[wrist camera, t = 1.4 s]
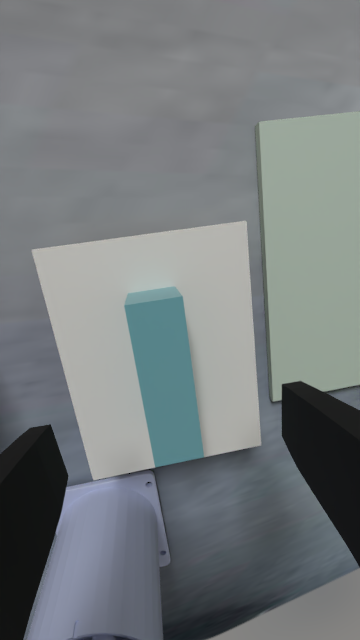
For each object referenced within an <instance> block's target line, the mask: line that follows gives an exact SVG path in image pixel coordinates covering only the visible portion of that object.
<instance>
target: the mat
mask: <svg viewBox="0 0 360 640" xmlns="http://www.w3.org/2000/svg"><path fill="white" fill-rule="evenodd" d="M255 135H256V153H257V172H258V191H259V209H260V228H261V247H262V265H263V284H264V303H265V321H266V340H267V359H268V377H269V396H270V398H271V400H272V401H273V402H274V401H279V400H282V384H285V383H291V382H297V381H302V382H304V383H306V384H308V385H310V386H312V387H314V388H316V389H318V390H320V391H322V392H325V391H330V390H335V389H340V388H345V387H350V386H355V385H360V111H358V112H349V113H339V114H329V115H320V116H310V117H300V118H291V119H281V120H271V121H262V122H258V123H257V125H256V126H255Z"/></svg>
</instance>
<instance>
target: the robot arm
mask: <svg viewBox="0 0 360 640" xmlns="http://www.w3.org/2000/svg"><path fill="white" fill-rule="evenodd" d="M282 437H283V439H284V441H285V443H286V445H287V448H288V450H289V452H290V454H291V456H292V458H293V460H294V462H295V464H296V466H297V468H298V469H299V471H300V473H301V474H302V476H303V477H304V479H305V480H306V482H307V484H308V485H309V487H310V488H311V490H312V492H313V493H314V495H315V496H316V498H317V499H318V501H319V503H320V504H321V506H322V507H323V509H324V510H325V512H326V513H327V515H328V517H329V518H330V520H331V521H332V523H333V524H334V526H335V527H336V529H337V531H338V532H339V534H340V535H341V537H342V538H343V540H344V542H345V543H346V545H347V546H348V548H349V550H350V551H351V553H352V555H353V556H354V558H355V560H356V561H357V563H358V565H359V567H360V410H358V409H356V408H354V407H352V406H350V405H348V404H346V403H344V402H342V401H340V400H338V399H336V398H334V397H332V396H330V395H328V394H326V393H324V392H322V391H320V390H318V389H316V388H314V387H312V386H310V385H308V384H306V383H304V382H302V381H297V382H291V383H285V384H282ZM67 480H68V473H67V470H66V468H65V465H64V462H63V459H62V456H61V453H60V450H59V447H58V444H57V442H56V439H55V436H54V433H53V430H52V427H51V424H50V425H45V426H39V427H33V428H30V429H28V430H27V431H26V432H25V433H23V434H22V435H21V436H20V437H19V438H18V439H17V440H15V441H14V442H13V443H12V444H11V445H10V446H9V447H8V448H7V449H6V450H4V451H3V452H2V453H1V454H0V640H23V638H24V634H25V631H26V627H27V624H28V620H29V616H30V613H31V610H32V606H33V603H34V600H35V597H36V594H37V590H38V587H39V584H40V581H41V578H42V574H43V571H44V568H45V565H46V562H47V558H48V555H49V552H50V549H51V546H52V542H53V539H54V536H55V532H56V535H57V539H56V542H55V546H54V549H53V552H52V556H51V559H50V563H49V566H48V569H47V573H46V576H45V580H44V583H43V586H42V590H41V593H40V597H39V600H38V603H37V607H36V610H35V614H34V617H33V620H32V624H31V627H30V631H29V634H28V637H27V640H163V625H162V606H161V587H160V568H159V567H163V566H166V565H168V564H169V563H170V561H171V559H170V552H169V547H168V542H167V537H166V532H165V527H164V521H163V516H162V511H161V506H160V501H159V496H158V490H157V485H156V480H155V475H154V472H152V471H150V470H146V471H142V472H137V473H132V474H127V475H122V476H118V477H113V478H108V479H103V480H99V481H94V482H89V483H84V484H79V485H75V486H70V487H66V486H67ZM147 482H151V483H147Z"/></svg>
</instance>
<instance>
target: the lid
mask: <svg viewBox="0 0 360 640" xmlns="http://www.w3.org/2000/svg"><path fill="white" fill-rule="evenodd" d="M32 253H33V257H34V261H35V264H36V268H37V272H38V276H39V279H40V283H41V287H42V291H43V294H44V298H45V302H46V305H47V309H48V313H49V317H50V320H51V324H52V328H53V332H54V335H55V339H56V343H57V347H58V350H59V354H60V358H61V362H62V365H63V369H64V373H65V377H66V380H67V384H68V388H69V391H70V395H71V399H72V403H73V406H74V410H75V414H76V418H77V421H78V425H79V429H80V433H81V436H82V440H83V444H84V448H85V451H86V455H87V459H88V463H89V466H90V470H91V474H92V477H93V480H98V479H102V478H107V477H112V476H117V475H121V474H126V473H131V472H136V471H141V470H145V469H150V468H155V467H160V466H165V465H169V464H174V463H179V462H184V461H189V460H193V459H198V458H203V457H208V456H212V455H217V454H222V453H227V452H232V451H236V450H241V449H246V448H251V447H256V446H260V445H261V435H260V420H259V404H258V389H257V374H256V359H255V344H254V329H253V313H252V298H251V283H250V268H249V253H248V238H247V223H246V221H241V222H233V223H226V224H218V225H211V226H203V227H196V228H189V229H181V230H174V231H166V232H159V233H152V234H144V235H137V236H129V237H122V238H115V239H107V240H100V241H92V242H85V243H78V244H70V245H63V246H55V247H48V248H41V249H33V250H32Z"/></svg>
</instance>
